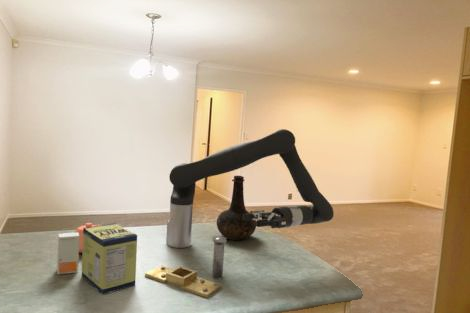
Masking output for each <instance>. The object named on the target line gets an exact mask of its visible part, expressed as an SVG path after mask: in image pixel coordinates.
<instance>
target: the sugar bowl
mask: <svg viewBox="0 0 470 313" xmlns="http://www.w3.org/2000/svg"><path fill="white" fill-rule="evenodd" d="M100 225H101V224H95V225H94V224H93V223H92V222H86V223H85V225H80V226H79V227H77V228H76V229H75V231H74V233H76V232H79V254H82V252H83V228H86V227H93V226H100Z"/></svg>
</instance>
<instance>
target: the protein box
mask: <svg viewBox="0 0 470 313" xmlns="http://www.w3.org/2000/svg"><path fill="white" fill-rule="evenodd" d="M99 225H100V226H97V225H96V226H93V227H86V228H83V252H82V253H81V254H82V256H81V258H82V261H81V277H82V278H83V279H84V280H85V281H86V282H88V284H89V285H91V287H93V288H94V289H95V290H97V291H98V292H99V293H100V294H101V295H105V294H108V293H111V292H115V291H119V290H123V289H126V288H130V287H133V286H136V277H137V276H136V274H137V250H138V249H137V247H138V235H137V234H136V233H134V232H132V231H130V230H128V229H126V228H124V227H123V226H120V225H119V224H117V223H115V222H114V223H110V224H109V223H108V224H99Z"/></svg>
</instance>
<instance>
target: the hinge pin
mask: <svg viewBox="0 0 470 313" xmlns="http://www.w3.org/2000/svg"><path fill="white" fill-rule="evenodd" d="M212 242H213V255H212V256H213V257H212V272H211V277H213V278H212V279H214V278H215V279H214V280H221V279H223V272H224V259H225V246H226V245H225V244H226V243H227V238H226V237H224V236H223V235H217V236H216V235H215V236H213V237H212ZM220 278H221V279H220Z"/></svg>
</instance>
